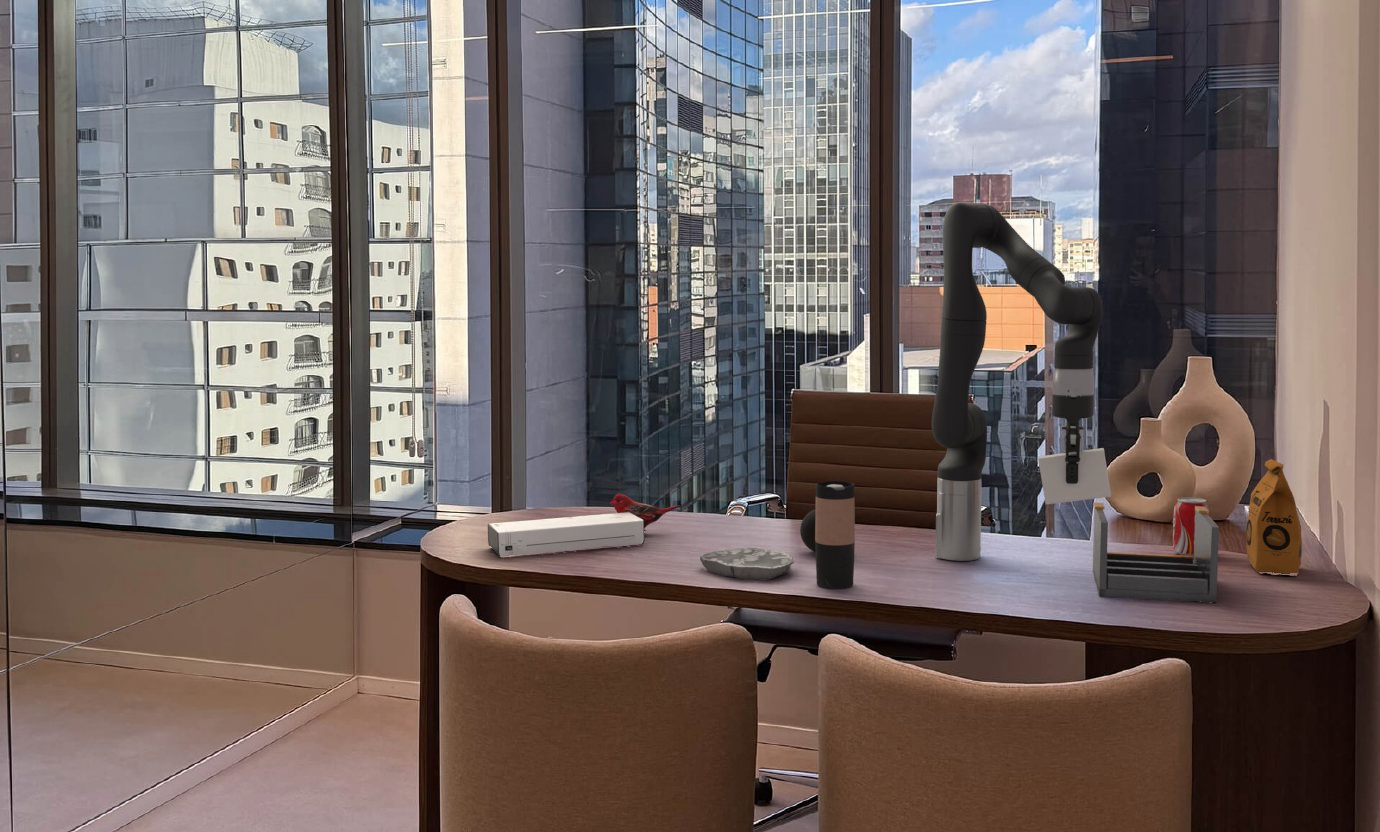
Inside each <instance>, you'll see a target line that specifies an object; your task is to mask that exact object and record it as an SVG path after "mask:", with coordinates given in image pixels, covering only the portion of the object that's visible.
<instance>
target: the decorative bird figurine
mask: <svg viewBox="0 0 1380 832" xmlns="http://www.w3.org/2000/svg"><path fill="white" fill-rule="evenodd" d="M609 504H610V505H613V507H614V510H615V511H616V513H626V512H630V513H632V514H634V515H636V516H637V517H639V518H641V519H643V520H644V531H645V532H646V531H647V530H646V528H647V527H648V526H649V525H651V524H653V523H655V522H658V520H660V518H661V517H662V516H664V515H665V514H666V513H668V512H671V511H673V510H676V509H678V508H679V507H681V505H679V504H678V505H674V506H670V507H666V508H659V507H656V506H654V505H650V504H646V503H642V502H641V503H640V502H638V501H634V500H633V499H631V498H630V497H629V496H627V495H626V494H622V493H617V494H615V495H614V497H613V499H612V501H611V502H609Z"/></svg>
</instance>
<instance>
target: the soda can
mask: <svg viewBox="0 0 1380 832" xmlns="http://www.w3.org/2000/svg"><path fill="white" fill-rule="evenodd" d="M1207 501H1208V500H1206V499H1205V498H1201V497H1191V496H1190V497H1189V496H1186V497H1185V496H1184V497H1178V498H1177V502H1176V503H1175V505H1174V506H1173V519H1172V520H1173V521H1172V522H1173V523H1172V549H1173V551H1174V552H1176V553H1177V555H1178V554H1180V555H1186V556H1193V558H1194V536H1195V506H1201V507H1206V508H1207V509H1208V510H1209V511H1210V507H1209V505H1208V504H1207ZM1207 514H1208V515H1209V516H1210V512H1209V513H1207Z"/></svg>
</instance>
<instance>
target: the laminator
mask: <svg viewBox="0 0 1380 832" xmlns="http://www.w3.org/2000/svg"><path fill="white" fill-rule="evenodd" d="M644 530H645V528H644V520H643V519H641V518H639V517H637V516H636V515H634V514H632V513H630V512H626V513H617V512H615V513H601V514H591V515H578V516H566V517H557V518H555V517H554V518H553V517H552V518H543V519H532V520H531V519H530V520H529V519H528V520H519V521H518V520H516V521H505V522H504V521H503V522H495V523H493V522H492V523H487V540H488V542H487V543H488V547H489V546H491V547H492V548H491V550H493V551H494V552H495V554H497V555H498V557H499V556H509V555H519V554H529V553H541V552H556V551H565V550H574V549H583V548H593V547H602V546H621V545H629V544H640V543H643V544H644V543H645V533H644Z"/></svg>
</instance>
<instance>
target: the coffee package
mask: <svg viewBox="0 0 1380 832" xmlns="http://www.w3.org/2000/svg"><path fill="white" fill-rule="evenodd" d="M1264 466H1265V468H1266V469H1268V470H1267V472H1266V473H1265V475H1263V477H1262V478H1261V479H1260V480H1259V482H1258V483H1257V485H1256V486H1255V487H1254V489H1253V490H1252V492H1251V494H1250V501H1249V507H1248V512H1247V513H1248V514H1247V521H1246V529H1245V537H1246V538H1245V539H1246V540H1245V541H1246V542H1245V543H1246V545H1245V546H1246V555H1247V560H1248V561H1249V563H1250V565H1251V566H1252V567H1253V569H1254V570H1255V571H1256V572H1257V573H1258V572H1272V573H1273V572H1274V573H1281V574H1290V573H1297V572H1298V571H1299V572H1300V567H1301V565H1302V553H1303V552H1302V551H1303V549H1302V547H1303V546H1302V543H1303V542H1302V525H1301V522H1300V517H1299V514H1298V510H1297V503H1296V500H1295V497H1294V495H1293V492H1292V489H1291V488H1290V485H1289V483H1288V480H1287V479H1286V477H1285V474H1284V471H1283V470H1284V464H1282V463H1281V462H1279V461H1277V460H1275V459H1271V458H1270V459H1269V460H1267V461H1265V463H1264ZM1299 572H1298V573H1299Z"/></svg>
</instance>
